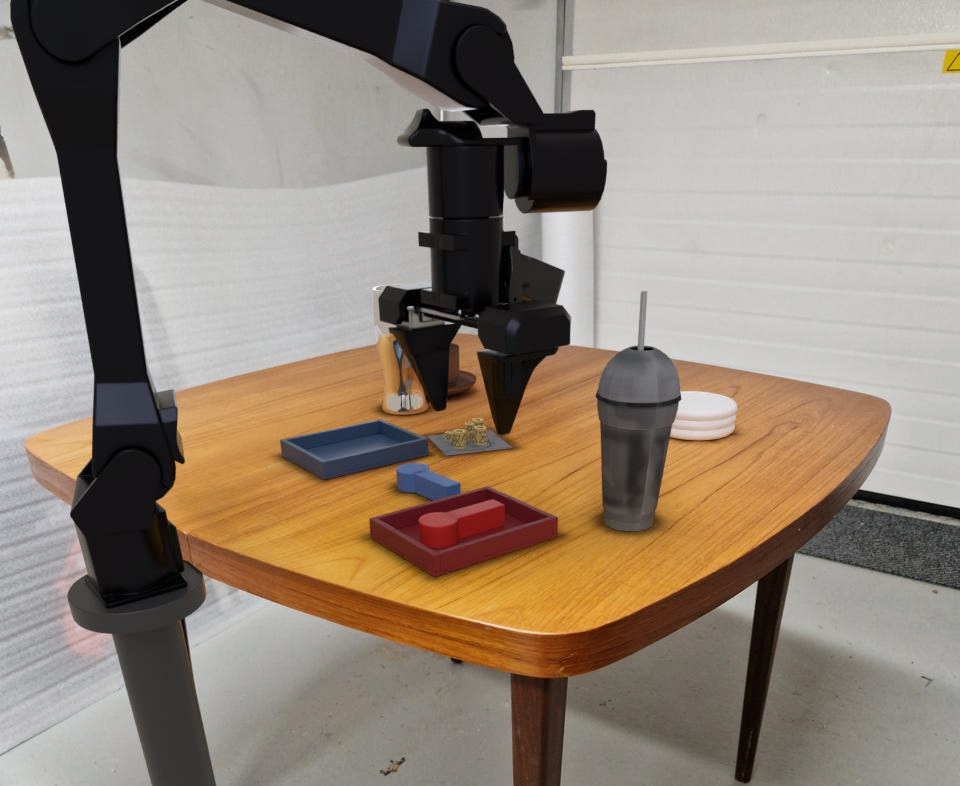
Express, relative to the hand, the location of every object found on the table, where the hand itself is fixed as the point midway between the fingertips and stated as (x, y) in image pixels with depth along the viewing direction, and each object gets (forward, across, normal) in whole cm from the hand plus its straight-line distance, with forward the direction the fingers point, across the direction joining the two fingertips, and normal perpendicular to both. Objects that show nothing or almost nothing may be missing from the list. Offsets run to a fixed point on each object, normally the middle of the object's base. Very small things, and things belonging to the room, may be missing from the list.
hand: (470, 421), depth 72 cm
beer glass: (+10, +39, -17) cm, 44 cm away
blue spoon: (+10, +10, -2) cm, 15 cm away
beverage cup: (+10, -7, -12) cm, 18 cm away
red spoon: (+10, -1, +2) cm, 10 cm away
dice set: (+10, +22, -15) cm, 28 cm away
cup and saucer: (+10, +44, -25) cm, 52 cm away
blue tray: (+10, +26, -2) cm, 28 cm away
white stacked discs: (+10, +9, -39) cm, 42 cm away
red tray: (+10, -1, +2) cm, 10 cm away
